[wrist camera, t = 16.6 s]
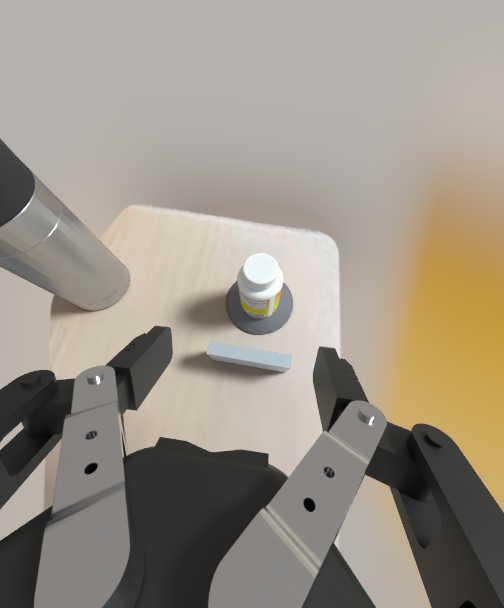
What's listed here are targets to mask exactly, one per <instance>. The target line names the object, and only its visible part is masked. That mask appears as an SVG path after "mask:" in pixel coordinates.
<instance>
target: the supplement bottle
mask: <svg viewBox="0 0 504 608" xmlns="http://www.w3.org/2000/svg"><path fill="white" fill-rule="evenodd" d="M237 282H238V288H239V294H240V300H241V305H242V308H243V310H244V312H245V313H246V314H247V315H248V316H250V317H252V318H255V319H264V318H267V317H269V316H271V315H272V314H273V313H274V312H275V311H276V309H277V306H278V303H279V298H280V294H281V289H282V285H283V274H282V271H281V270H280V268H279V267H278V264H277V262H276V261H275V259H274V258H273V257H271V256H270V255H267V254H264V253H257V254H253V255H251V256H250V257H248V258H247V259H246V261H245V262H244V264H243V266H242V267H241V269H240V271H239V273H238V277H237Z"/></svg>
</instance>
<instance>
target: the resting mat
mask: <svg viewBox="0 0 504 608" xmlns="http://www.w3.org/2000/svg"><path fill="white" fill-rule="evenodd" d="M292 308H293V299H292V295H291V292H290V290H289V288H288V287H287V285H286V284H285V283H284V282H283V285H282V289H281V294H280V298H279V303H278V306H277V309H276V311H275V312H274V313H273V314H272V315H271V316H269V317H267V318H264V319H255V318H252V317H250V316H248V315H247V314H246V313H245V312H244V310H243V308H242V305H241V300H240V294H239V288H238V282H236V283H235V284H234V285H233V286H232V288H231V289H230V291H229V294H228V297H227V309H228V313H229V315H230V317H231V319H232V321H233V322H234V323H235V324H236V325H237V326H238V327H239V328H241V329H242V330H244V331H246V332H249V333H252V334H268V333H272V332H274V331H276V330H278V329H280V328H281V327H282V326H283V325H284V324H285V323H286V322H287V321H288V319H289V317H290V315H291V312H292Z"/></svg>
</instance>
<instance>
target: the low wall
mask: <svg viewBox="0 0 504 608" xmlns="http://www.w3.org/2000/svg"><path fill="white" fill-rule="evenodd" d="M206 354H207V355H208V356H209V357H211V358H212V359H213V360H216V361H222V362H228V363H233V364H239V365H245V366H250V367H256V368H262V369H267V370H273V371H279V372H286V371H288V370H289V369H290V365H291V356H292V355H287V354H281V353H275V352H269V351H263V350H257V349H251V348H245V347H239V346H233V345H228V344H222V343H216V342H210V341H209V345H208V349H207V353H206Z"/></svg>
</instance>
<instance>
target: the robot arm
mask: <svg viewBox="0 0 504 608" xmlns="http://www.w3.org/2000/svg"><path fill="white" fill-rule="evenodd" d="M0 267H2V268H4V269H6V270H8V271H10V272H12V273H14V274H16V275H18V276H19V277H21V278H23V279H25V280H27V281H29V282H31V283H33V284H35V285H37V286H39V287H41V288H43V289H45V290H47V291H49V292H51V293H53V294H55V295H57V296H58V297H60V298H62V299H64V300H66V301H68V302H70V303H72V304H74V305H76V306H78V307H80V308H82V309H85V310H90V311H96V310H102V309H105V308H108V307H110V306H112V305H113V304H115V303H116V302H117V301H119V300H120V299H121V297H122V296H123V295H124V294H125V292H126V291H127V288H128V286H129V281H130V275H129V272H128V269H127V268H126V266H125V265H124V264H123V263H122V262H121V261H120V260H119V259H118V258H117V257H116V256H115V255H114V254H113V253H112V252H111V251H110V250H109V249H108V248H107V247H106V246H105V245H104V244H103V243H102V242H101V241H100V240H99V239H98V238H97V237H96V236H95V235H94V234H93V233H92V232H91V231H90V230H89V229H88V228H87V227H86V226H85V225H84V224H83V223H82V222H81V221H80V220H79V219H78V218H77V217H76V216H75V215H74V214H73V213H72V212H71V211H70V210H69V209H68V208H67V207H66V206H65V205H64V204H63V203H62V202H61V200H60V199H58V198H57V196H55V195H54V194H53V193H52V192H51V191H50V190H49V189H48V188H47V187H46V186H45V185H44V184H43V183H42V181H41V180H39V179H38V177H37V176H36V175H34V173H32V171H31V170H30V169H29V168H28V167H27V166H26V165H25V164H24V163H23V162H21V160H20V159H19V158H18V157H17V156H16V155H15V154H14V153H13V152H12V151H11V150H10V149H9V148H8V147H7V145H6V144H5V143H4V142H3V141H2V140H1V139H0ZM172 353H173V350H172V335H171V329H170V328H169V327H162V326H154V327H153V328H152V329H151V330H150V331H149V332H148V333H147V334H145V333H144V334H142V335H140V336H138V337H136V338H135V339H133V340H132V341H131V342H130V343H129V345H127V346H126V347H125V348H124V349H123V350H121V351H120V352H119V353H118V354H117V355H116V356H115V357H114V358H113V359H112V360H111V361H110V362H108V363H107V364H106V365H105V366H96V367H92V368H90V369H87V370H85V371H83V372H82V373H80V374H79V375H78V376H77V377H76V379H65V380H56V378H55V375H54V373H53V372H52V371H49V370H39V371H34V372H30V373H27V374H24V375H22V376H20V377H18V378H16V379H15V380H13V381H12V382H11V383H9V384H8V385H7V386H5V387H4V388H2V389H1V390H0V442H1V440H2V439H3V438H4V437H5V436H6V435H7V434H8V433H9V432H10V431H12V430H13V429H14V428H15V427H16V426H17V425H18V424H19V423H20V422H22V425H23V427H24V429H23V430H21V431H20V432H19V433H18V434H17V435H16V436H15V437H14V438H13V439H12V440H11V441H10V442H9V443H8V444H6V445H5V446H4V447H3V448H2V449H1V450H0V509H1V508H2V506H4V504H5V503H6V502H7V501H8V500H9V499H10V497H11V496H12V495H13V494H14V493H15V492H16V491H17V489H18V488H19V487H20V486H21V485H22V484H23V482H24V481H25V480H26V479H27V478H28V477H29V475H30V474H31V473H32V472H33V471H34V470H35V468H36V467H37V466H38V465H39V464H40V463H41V461H42V460H43V459H44V458H45V457H46V456H47V455H48V453H49V452H50V451H51V450H52V449H53V448H54V446H55V445H56V444H57V443H58V442H59V441H60V439H61V438H62V442H61V449H60V457H59V464H58V472H57V479H56V486H55V494H54V501H53V506H51V507H50V508H48V509H47V510H45V511H44V512H42V513H41V514H39V515H38V516H36V517H35V518H33V519H32V520H30V521H29V522H27V523H26V524H25V525H23V526H21V527H20V528H18V529H17V530H15V531H14V532H13V533H11V534H10V535H8V536H7V537H5V538H4V539H2V540H1V541H0V608H376V607H375V605H374V604H373V602H372V601H371V599H370V598H369V596H368V594H367V593H366V591H365V590H364V589H363V587H362V585H361V584H360V582H359V581H358V579H357V578H356V576H355V575H354V573H353V572H352V570H351V568H350V567H349V565H348V564H347V562H346V561H345V559H344V558H343V556H342V555H341V553H340V552H339V550H338V549H337V547H336V546H335V544H334V542H335V540H336V538H337V535H338V533H339V531H340V529H341V526H342V524H343V522H344V520H345V517H346V515H347V513H348V511H349V509H350V506H351V504H352V502H353V500H354V498H355V496H356V493H357V491H358V489H359V487H360V485H361V482H362V480H363V478H364V475H367V476H369V477H371V478H374V479H376V480H378V481H380V482H382V483H384V484H386V485H388V486H390V489H391V492H392V494H393V498H394V500H395V503H396V506H397V509H398V512H399V515H400V518H401V521H402V524H403V526H404V529H405V532H406V535H407V538H408V541H409V544H410V547H411V549H412V552H413V555H414V558H415V561H416V564H417V567H418V570H419V573H420V575H421V578H422V581H423V584H424V587H425V590H426V593H427V596H428V598H429V601H430V604H431V607H432V608H504V513H503V511H502V510H501V508H500V507H499V505H498V504H497V502H496V501H495V500H494V498H493V497H492V495H491V494H490V492H489V491H488V489H487V488H486V487H485V485H484V484H483V482H482V481H481V479H480V478H479V476H478V475H477V473H476V472H475V471H474V469H473V468H472V466H471V465H470V464H469V462H468V460H467V459H466V458H465V456H464V455H463V453H462V452H461V450H460V449H459V447H458V446H457V445H456V443H455V442H454V441H453V440H452V439H451V438H450V437H449V436H448V435H446V434H445V433H443V432H442V431H440V430H439V429H437V428H435V427H433V426H430V425H427V424H416V425H414V426H413V428H412V430H411V431H409V430H407V429H404V428H402V427H399V426H397V425H394V424H392V423H389V422H387V421H386V418H385V416H384V415H383V413H382V412H381V411H380V410H379V409H378V408H377V407H375V406H373V405H371V404H370V403H369V402H368V400H367V398H366V395H365V393H364V391H363V389H362V387H361V385H360V383H359V381H358V378H357V376H356V375H355V372H354V370H353V367H352V366H351V365H350V364H349V363H348V362H347V361H346V360H345V359H339V357H338V354H337V352H336V349H335V348H329V347H319V349H318V353H317V358H316V362H315V366H314V371H313V384H314V389H315V394H316V399H317V404H318V409H319V414H320V419H321V424H322V428H323V433H322V434H321V435H320V437H319V438H318V439H317V441H316V442H315V443H314V445H313V446H312V447H311V449H310V450H309V451H308V453H307V454H306V455H305V457H304V458H303V459H302V461H301V462H300V463H299V465H298V466H297V467H296V469H295V470H294V471H293V473H292V474H291V475H290V477H287V476H286V475H285V474H284V473H283V472H282V471H280V470H279V469H277V468H276V467H274V466H272V465H270V464H268V455H269V454H266V453H260V452H254V451H247V450H233V451H223V452H209V451H207V450H205V449H202V448H200V447H198V446H196V445H194V444H191V443H189V442H187V441H182V440H176V439H169V438H163V437H160V438H159V440H158V442H157V444H156V446H155V447H149V448H144V449H141V450H138V451H136V452H134V453H131V454H129V455H128V449H127V441H126V433H125V425H124V417H123V414H124V412H125V411H126V409H130V410H136V411H137V409H138V408H139V407H140V405H141V404H142V402H143V401H144V399H145V398H146V396H147V395H148V393H149V392H150V391H151V389H152V388H153V386H154V385H155V383H156V382H157V380H158V379H159V378H160V376H161V375H162V373H163V372H164V370H165V369H166V367H167V366H168V365H169V363H170V361H171V359H172Z"/></svg>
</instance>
